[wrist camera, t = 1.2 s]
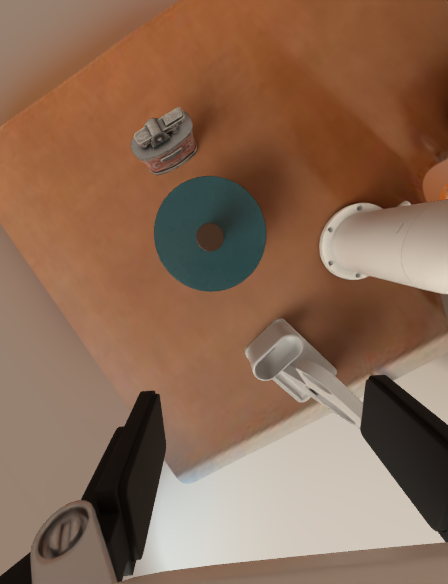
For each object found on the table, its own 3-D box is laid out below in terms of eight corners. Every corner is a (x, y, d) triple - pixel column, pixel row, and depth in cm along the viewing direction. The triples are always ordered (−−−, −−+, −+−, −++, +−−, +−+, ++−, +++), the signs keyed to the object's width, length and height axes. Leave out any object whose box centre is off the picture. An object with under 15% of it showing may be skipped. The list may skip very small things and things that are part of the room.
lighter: (155, 180, 35) (133, 159, 25) (143, 159, 34) (116, 128, 25) (201, 154, 35) (196, 122, 25) (189, 131, 34) (180, 89, 24)
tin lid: (221, 153, 25) (223, 127, 19) (284, 247, 28) (303, 251, 22) (133, 225, 26) (109, 222, 20) (201, 308, 29) (198, 327, 23)
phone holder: (240, 350, 43) (258, 429, 25) (279, 313, 41) (326, 369, 24) (300, 402, 46) (353, 503, 29) (338, 369, 45) (418, 455, 27)
